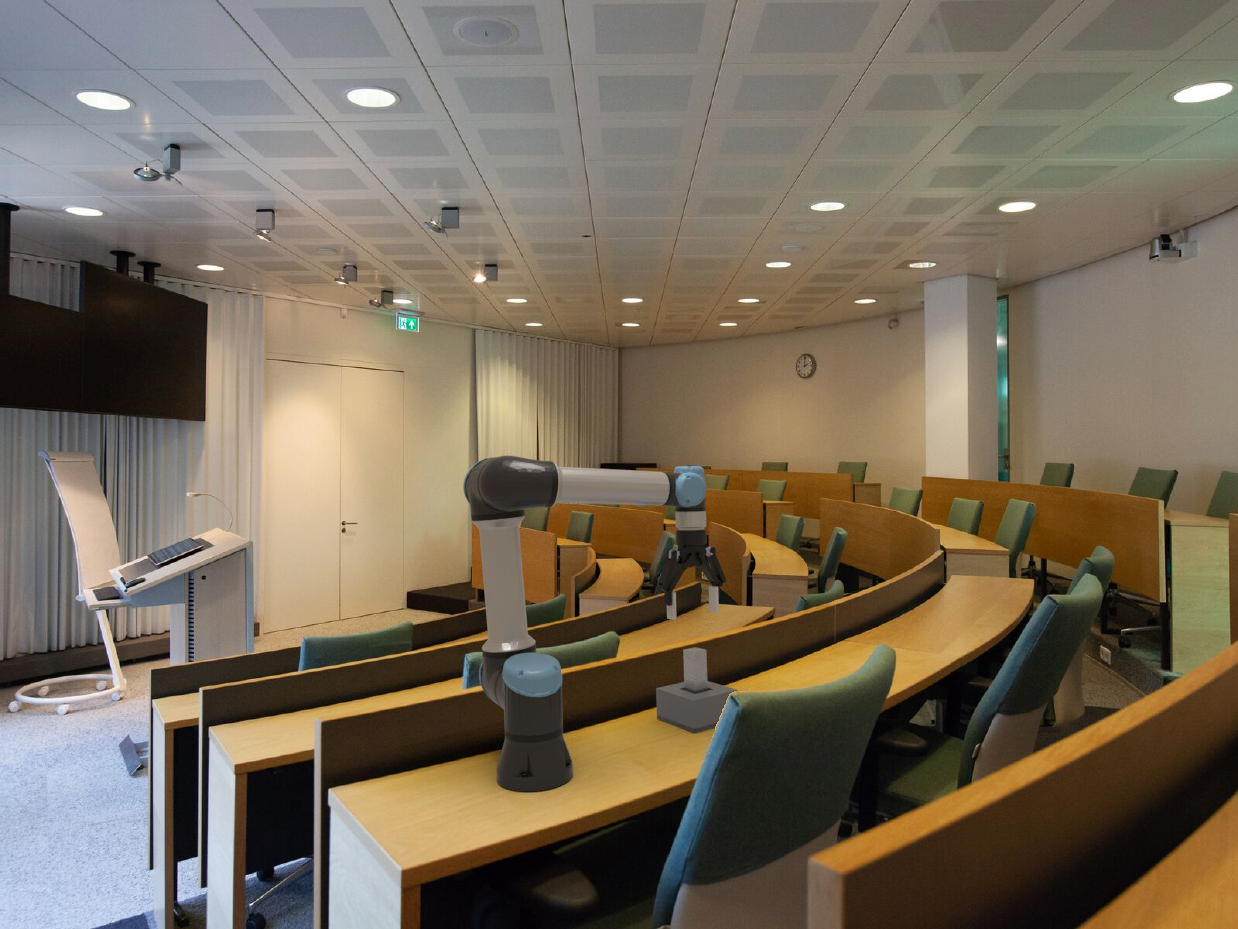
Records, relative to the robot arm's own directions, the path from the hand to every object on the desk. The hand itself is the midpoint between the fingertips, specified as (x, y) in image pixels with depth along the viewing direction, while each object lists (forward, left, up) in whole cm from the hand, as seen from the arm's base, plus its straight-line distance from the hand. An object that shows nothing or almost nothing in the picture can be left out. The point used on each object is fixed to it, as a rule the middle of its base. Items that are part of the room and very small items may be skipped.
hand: (693, 616), depth 182 cm
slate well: (0, 0, -25) cm, 25 cm away
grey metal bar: (0, 0, -24) cm, 24 cm away
